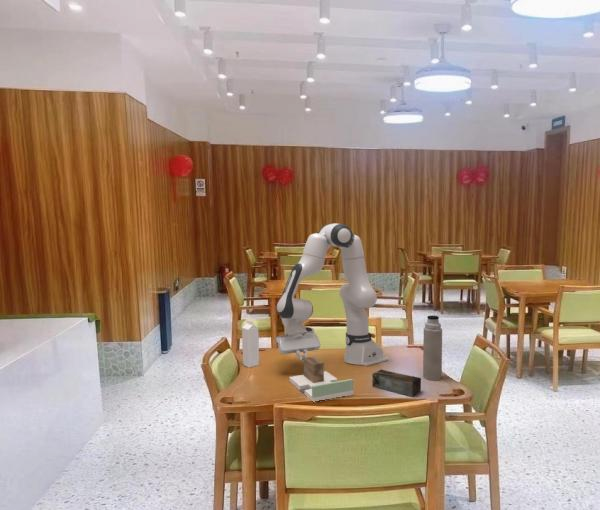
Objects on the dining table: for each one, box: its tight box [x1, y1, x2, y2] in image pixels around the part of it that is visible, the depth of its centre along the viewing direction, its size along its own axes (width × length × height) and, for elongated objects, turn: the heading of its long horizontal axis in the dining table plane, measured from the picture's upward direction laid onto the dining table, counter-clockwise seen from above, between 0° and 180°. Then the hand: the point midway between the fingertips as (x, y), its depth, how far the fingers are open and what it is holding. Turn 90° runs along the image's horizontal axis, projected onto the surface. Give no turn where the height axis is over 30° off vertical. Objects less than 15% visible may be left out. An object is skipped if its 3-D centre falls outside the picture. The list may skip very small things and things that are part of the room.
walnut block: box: [303, 356, 325, 383], centre depth 194 cm, size 5×10×8 cm, turn 23°
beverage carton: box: [371, 369, 422, 398], centre depth 186 cm, size 8×19×7 cm, turn 51°
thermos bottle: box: [422, 315, 443, 382], centre depth 198 cm, size 8×8×28 cm
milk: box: [241, 320, 260, 368], centre depth 219 cm, size 6×6×22 cm
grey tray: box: [289, 370, 354, 403], centre depth 188 cm, size 18×25×6 cm
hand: (303, 359), depth 203 cm, fingers closed
